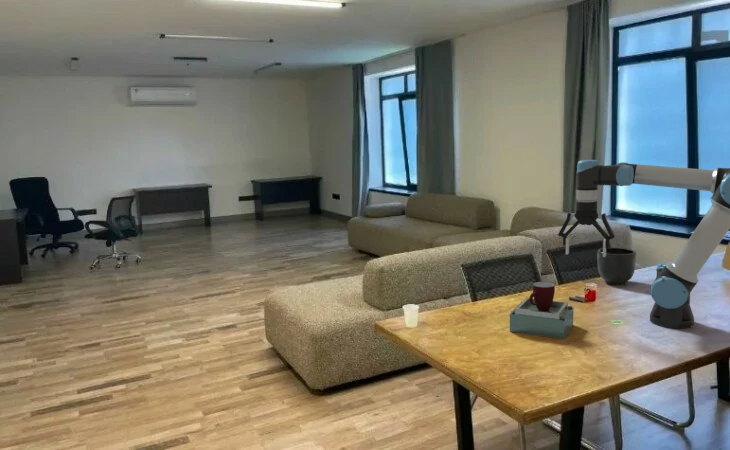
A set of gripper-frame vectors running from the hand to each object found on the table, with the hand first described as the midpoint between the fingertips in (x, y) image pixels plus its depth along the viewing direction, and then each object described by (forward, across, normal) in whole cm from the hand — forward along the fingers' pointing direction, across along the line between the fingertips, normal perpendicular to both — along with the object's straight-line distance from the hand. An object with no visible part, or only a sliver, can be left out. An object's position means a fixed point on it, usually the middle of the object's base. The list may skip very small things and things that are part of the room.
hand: (585, 255), depth 220 cm
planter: (+27, -4, -64) cm, 70 cm away
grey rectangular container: (+27, +13, +14) cm, 33 cm away
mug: (+20, +13, +14) cm, 28 cm away
